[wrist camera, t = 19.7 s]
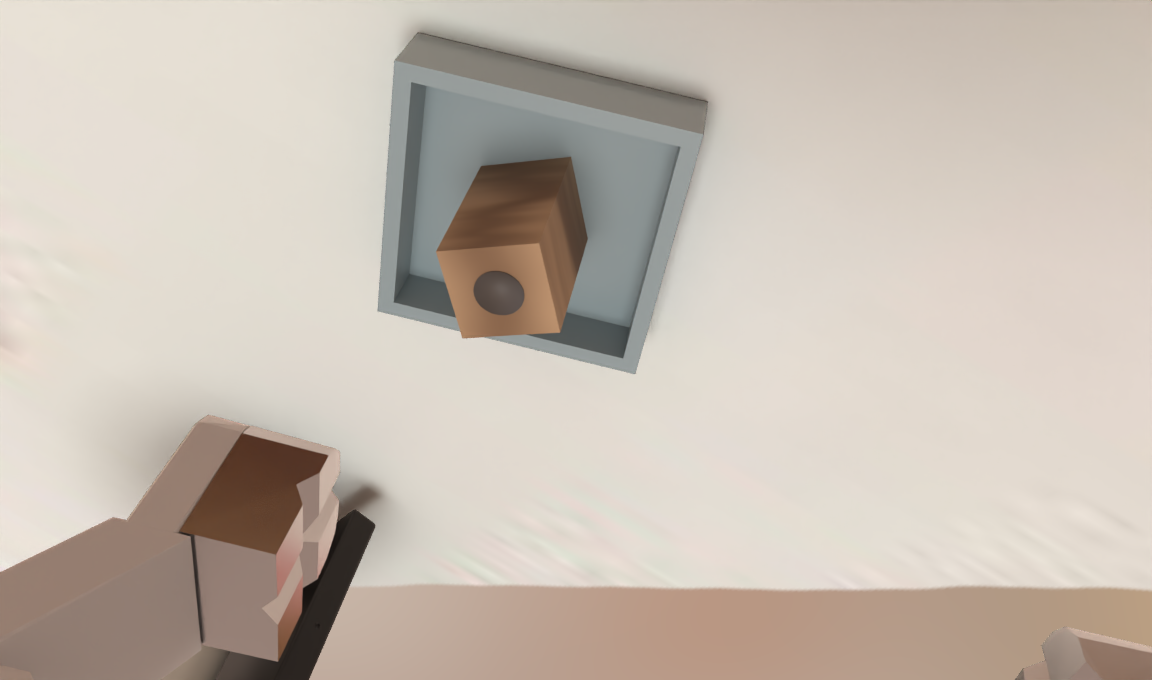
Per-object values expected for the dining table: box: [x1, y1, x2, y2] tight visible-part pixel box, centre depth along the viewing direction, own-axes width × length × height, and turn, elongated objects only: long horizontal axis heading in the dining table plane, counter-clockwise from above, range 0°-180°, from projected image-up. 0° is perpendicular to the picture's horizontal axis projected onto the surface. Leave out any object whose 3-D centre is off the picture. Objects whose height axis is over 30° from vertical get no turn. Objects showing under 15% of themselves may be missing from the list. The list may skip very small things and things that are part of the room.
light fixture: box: [161, 510, 375, 680], centre depth 55 cm, size 12×11×25 cm
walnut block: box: [436, 157, 588, 338], centre depth 45 cm, size 4×4×8 cm
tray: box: [378, 33, 708, 374], centre depth 47 cm, size 14×14×4 cm
